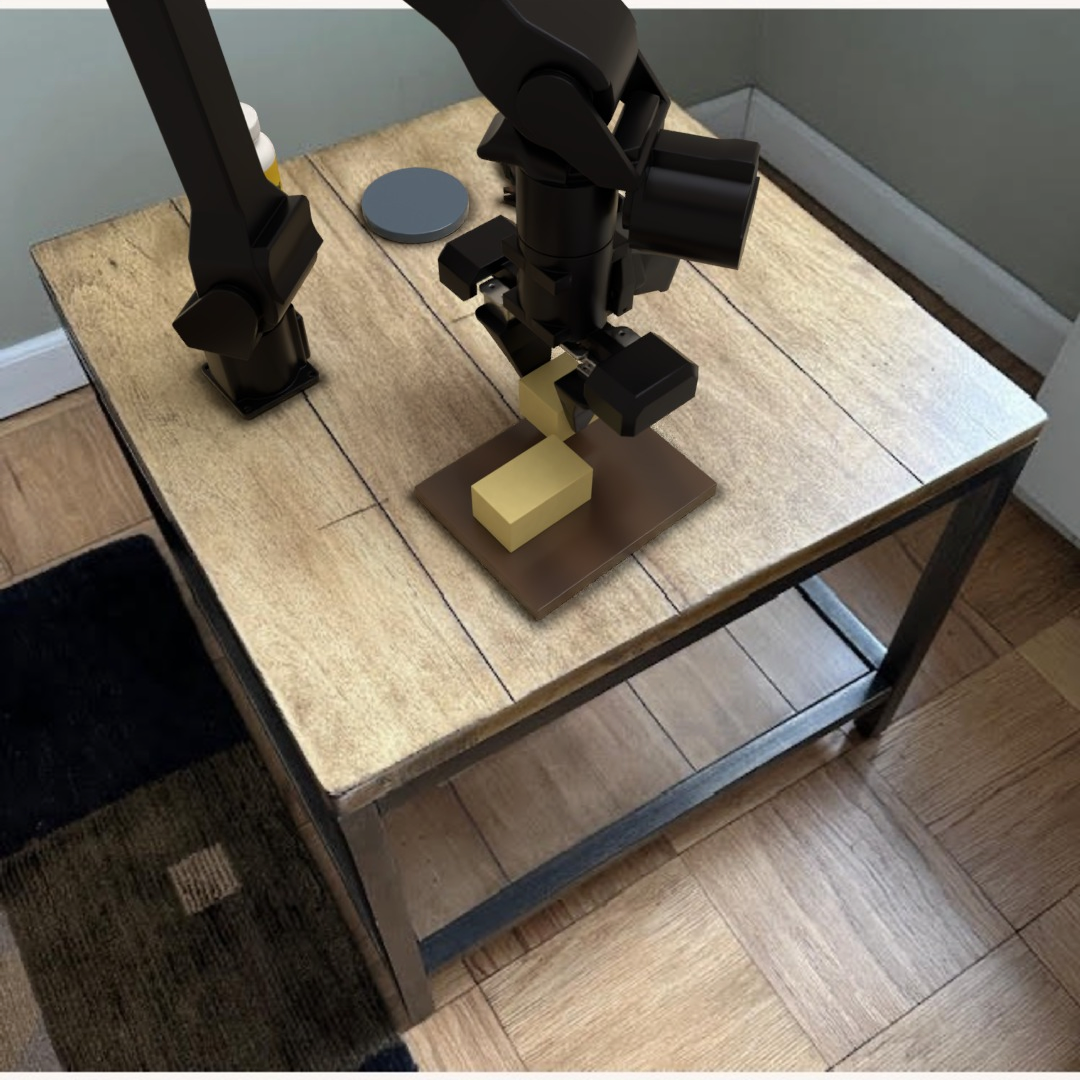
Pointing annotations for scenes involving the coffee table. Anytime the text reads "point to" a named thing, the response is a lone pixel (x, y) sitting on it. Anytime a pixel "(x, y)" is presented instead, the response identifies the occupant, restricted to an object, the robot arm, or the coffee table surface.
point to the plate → (415, 205)
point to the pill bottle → (262, 146)
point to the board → (588, 531)
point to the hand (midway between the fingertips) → (559, 411)
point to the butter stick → (531, 492)
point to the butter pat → (547, 397)
